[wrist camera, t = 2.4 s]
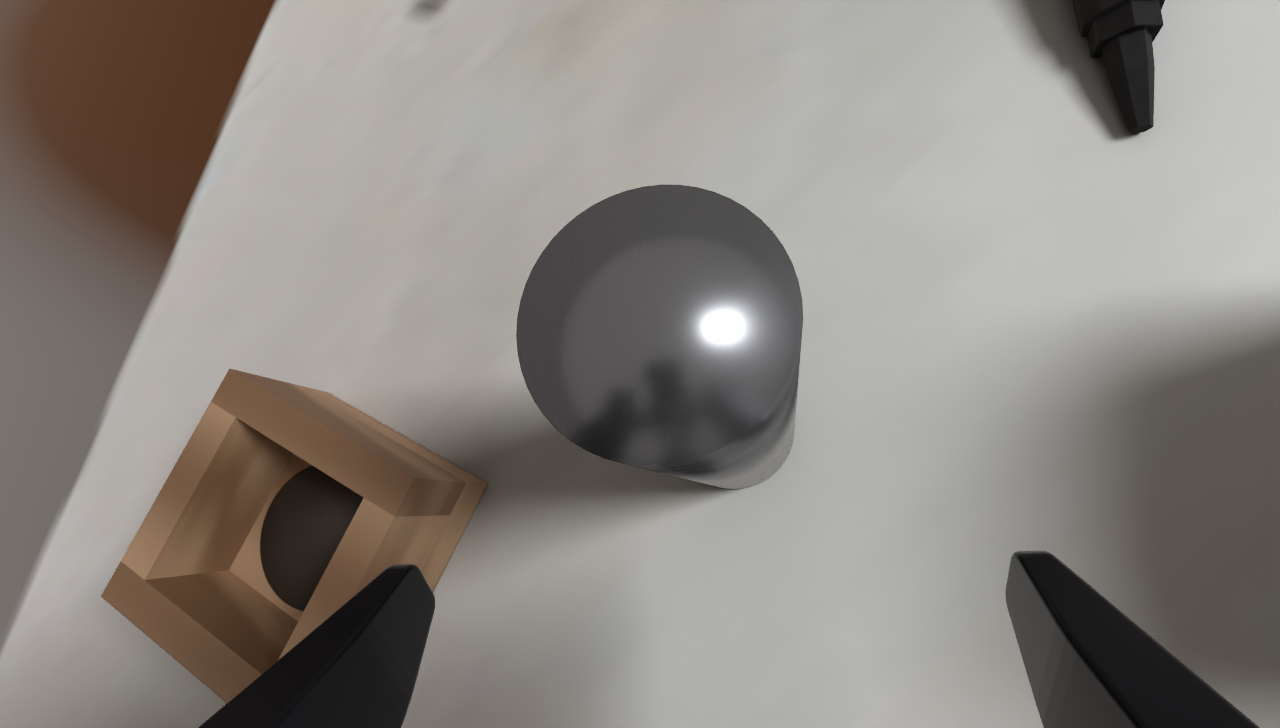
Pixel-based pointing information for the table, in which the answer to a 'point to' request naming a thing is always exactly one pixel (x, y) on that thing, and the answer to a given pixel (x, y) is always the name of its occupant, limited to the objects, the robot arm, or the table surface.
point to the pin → (667, 336)
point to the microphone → (1125, 51)
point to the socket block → (281, 527)
